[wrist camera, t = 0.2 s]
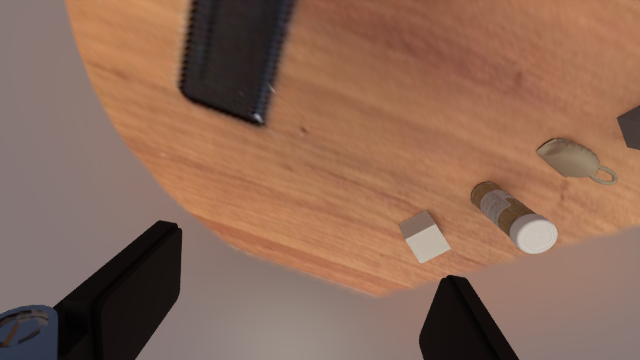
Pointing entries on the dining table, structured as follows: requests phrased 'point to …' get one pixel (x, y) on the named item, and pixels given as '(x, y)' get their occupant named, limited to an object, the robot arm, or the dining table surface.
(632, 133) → the charcoal block
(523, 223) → the sprinkles bottle
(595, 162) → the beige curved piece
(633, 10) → the dining table surface
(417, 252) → the off-white block
